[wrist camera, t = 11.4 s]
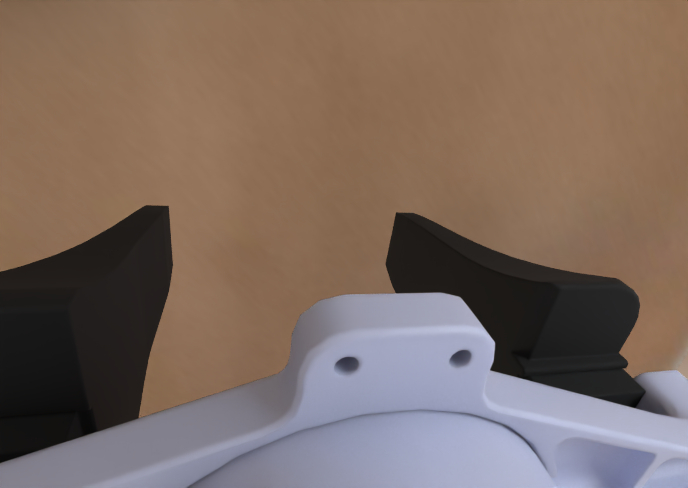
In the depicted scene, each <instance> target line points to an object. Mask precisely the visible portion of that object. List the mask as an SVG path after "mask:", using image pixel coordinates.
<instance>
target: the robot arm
mask: <svg viewBox="0 0 688 488" xmlns="http://www.w3.org/2000/svg"><path fill="white" fill-rule="evenodd" d="M172 267H173V261H172V247H171V233H170V219H169V206H151V205H146V206H144V207H142V208H141V209H139V210H137V211H136V212H134V213H133V214H131V215H130V216H128V217H127V218H125V219H124V220H122V221H120V222H119V223H117V224H116V225H114V226H113V227H111V228H109V229H107V230H106V231H104V232H102V233H100V234H99V235H97V236H95V237H93V238H91V239H90V240H88V241H86V242H84V243H82V244H80V245H78V246H75V247H73V248H71V249H69V250H66V251H64V252H61V253H59V254H57V255H54V256H51V257H48V258H45V259H42V260H39V261H36V262H33V263H30V264H27V265H24V266H21V267H17V268H14V269H10V270H6V271H2V272H0V488H688V379H686V378H685V377H684V376H683V375H682V374H680V373H679V372H678V371H677V370H670V371H657V372H645V373H642V374H639V375H638V376H636V377H634V378H632V377H631V376H630V375H629V374H628V373H627V372H626V371H625V370H623V369H622V368H626V367H627V365H628V362H627V360H626V359H625V358H624V357H622V356H621V355H620V354H619V351H620V350H621V348H622V346H623V344H624V343H625V341H626V339H627V337H628V336H629V334H630V332H631V331H632V329H633V327H634V325H635V323H636V320H637V318H638V314H639V308H640V303H639V298H638V296H637V294H636V293H635V292H634V290H633V289H631V288H630V287H629V286H627V285H626V284H624V283H623V282H622V281H620V280H619V279H616V278H610V277H602V276H595V275H587V274H580V273H574V272H569V271H564V270H559V269H554V268H550V267H545V266H541V265H537V264H534V263H530V262H527V261H523V260H520V259H517V258H513V257H510V256H508V255H505V254H502V253H499V252H497V251H494V250H491V249H489V248H487V247H484V246H482V245H480V244H477V243H475V242H473V241H471V240H469V239H467V238H465V237H463V236H460V235H458V234H457V233H455V232H453V231H451V230H449V229H447V228H445V227H443V226H441V225H439V224H437V223H435V222H433V221H431V220H429V219H427V218H425V217H423V216H420V215H418V214H414V213H396V216H395V221H394V226H393V231H392V236H391V240H390V245H389V250H388V255H387V260H386V267H387V270H388V274H389V277H390V280H391V283H392V286H393V288H394V290H395V292H396V294H348V295H340V296H336V297H332V298H328V299H323V300H319V301H318V302H317V303H316V304H314V305H313V306H312V307H310V308H309V309H308V310H306V311H305V312H304V313H302V314H301V315H300V317H299V319H298V322H297V324H296V326H295V328H294V331H293V333H292V340H291V350H290V357H289V361H288V364H287V365H286V367H285V369H283V370H282V371H281V372H279V373H278V374H274V375H271V376H268V377H265V378H262V379H259V380H256V381H253V382H250V383H247V384H243V385H240V386H237V387H234V388H231V389H228V390H225V391H222V392H219V393H216V394H213V395H209V396H206V397H203V398H200V399H197V400H194V401H191V402H188V403H185V404H182V405H178V406H175V407H172V408H169V409H166V410H163V411H160V412H157V413H154V414H151V415H148V416H144V417H141V418H138V417H139V411H140V405H141V398H142V392H143V386H144V381H145V375H146V370H147V364H148V359H149V355H150V351H151V347H152V344H153V341H154V338H155V334H156V331H157V328H158V325H159V322H160V319H161V315H162V312H163V309H164V306H165V302H166V299H167V296H168V292H169V287H170V281H171V274H172Z"/></svg>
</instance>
